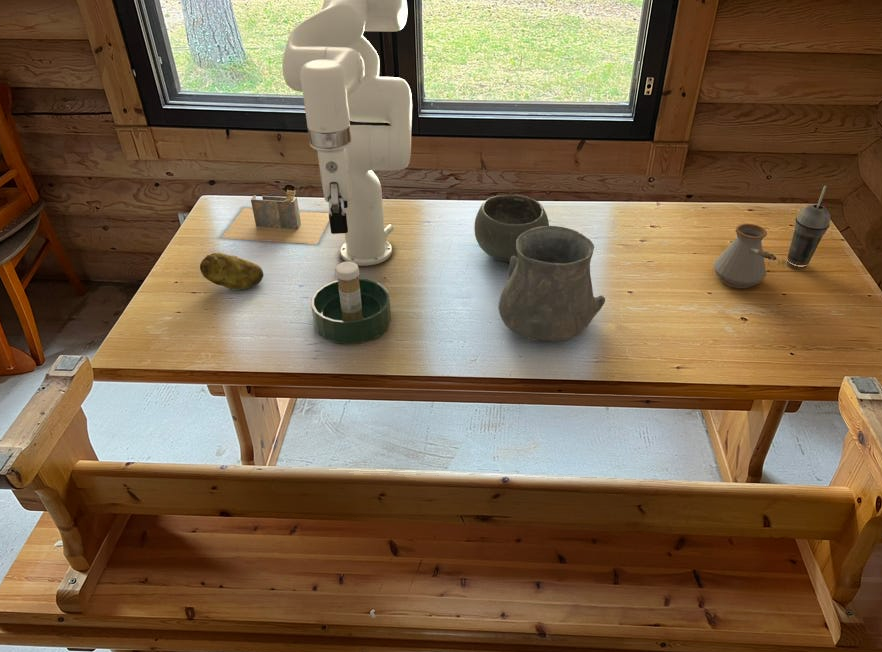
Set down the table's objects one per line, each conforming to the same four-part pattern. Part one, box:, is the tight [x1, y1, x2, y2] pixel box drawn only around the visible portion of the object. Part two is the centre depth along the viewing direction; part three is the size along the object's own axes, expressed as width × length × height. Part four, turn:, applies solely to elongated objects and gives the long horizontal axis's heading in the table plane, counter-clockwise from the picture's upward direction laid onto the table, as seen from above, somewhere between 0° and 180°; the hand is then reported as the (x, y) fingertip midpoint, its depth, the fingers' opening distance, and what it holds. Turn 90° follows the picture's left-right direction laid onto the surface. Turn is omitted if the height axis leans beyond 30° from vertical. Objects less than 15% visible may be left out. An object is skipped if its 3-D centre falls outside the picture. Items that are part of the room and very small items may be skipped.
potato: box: [199, 252, 264, 291], centre depth 156 cm, size 8×13×8 cm, turn 80°
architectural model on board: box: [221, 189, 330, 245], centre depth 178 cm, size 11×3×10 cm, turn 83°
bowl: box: [473, 194, 550, 263], centre depth 165 cm, size 18×18×13 cm
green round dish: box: [310, 277, 392, 345], centre depth 146 cm, size 16×16×6 cm
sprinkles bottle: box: [335, 261, 363, 321], centre depth 143 cm, size 5×5×13 cm
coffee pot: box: [713, 223, 781, 289], centre depth 152 cm, size 21×12×15 cm, turn 176°
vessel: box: [498, 225, 606, 343], centre depth 141 cm, size 22×22×20 cm
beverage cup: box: [785, 185, 831, 271], centre depth 159 cm, size 7×7×20 cm
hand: (339, 219), depth 134 cm, fingers open, 9 cm apart
